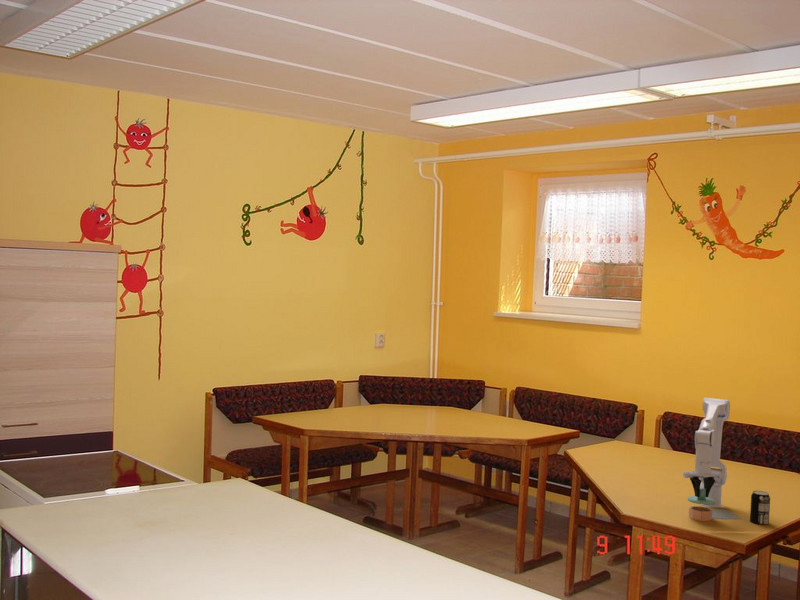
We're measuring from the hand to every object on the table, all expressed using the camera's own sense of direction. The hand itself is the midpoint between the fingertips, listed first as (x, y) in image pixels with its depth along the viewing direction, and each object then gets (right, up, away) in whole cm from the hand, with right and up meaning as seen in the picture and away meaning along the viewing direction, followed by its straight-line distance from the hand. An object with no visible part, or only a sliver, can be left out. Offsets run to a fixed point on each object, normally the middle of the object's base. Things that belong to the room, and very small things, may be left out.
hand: (701, 496), depth 313 cm
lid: (0, -2, 0) cm, 2 cm away
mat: (+10, -9, +7) cm, 15 cm away
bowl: (0, -9, 0) cm, 9 cm away
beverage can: (+21, -10, -3) cm, 23 cm away
